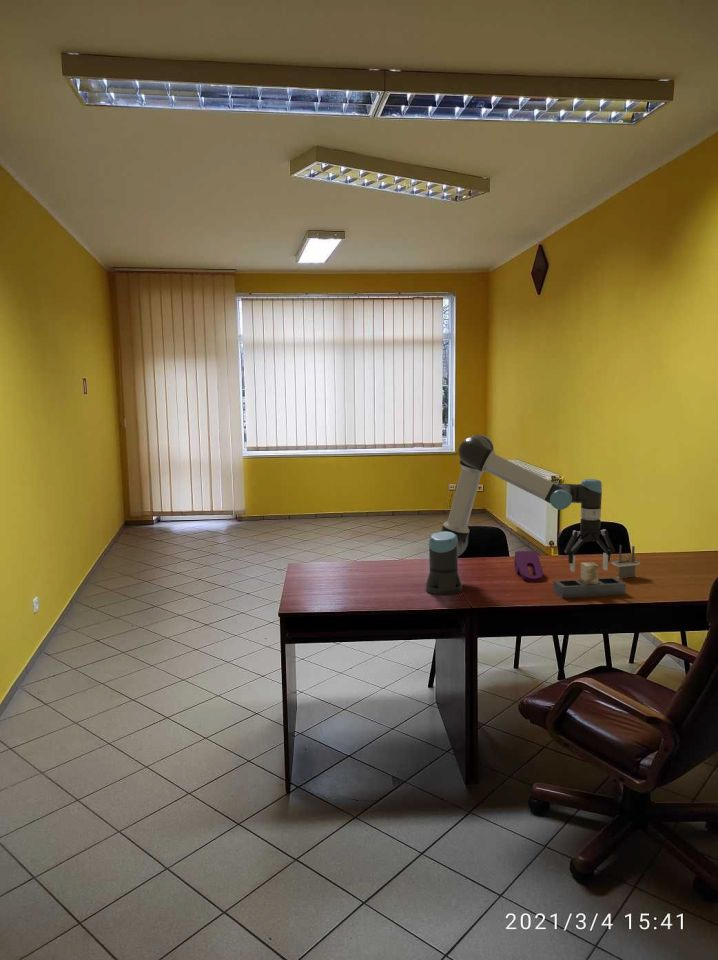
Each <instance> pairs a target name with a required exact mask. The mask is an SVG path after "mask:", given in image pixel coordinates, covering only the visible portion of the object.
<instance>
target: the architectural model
mask: <svg viewBox="0 0 718 960" xmlns="http://www.w3.org/2000/svg"><path fill="white" fill-rule="evenodd" d="M636 557H637V556H636V555H635V545H634V546H633V545H632V546H631V554H625V555H624V554H623V555H622V545H621V544H620V545H619V557H618V558H619V559H617V560H613V561H611V564H612V565H614V566H615V567H618V568H617V569H616V578H617V579H619V580H620V579H627V578H628V577H629V578H634V577H636V566H638V565H641V561H638V560H637V558H636Z"/></svg>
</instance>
